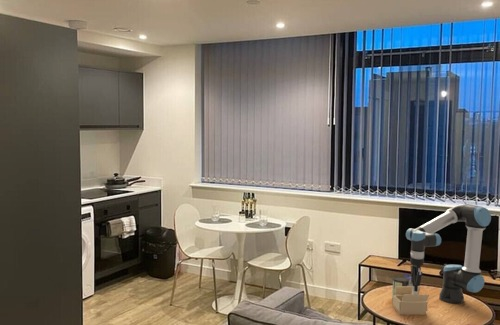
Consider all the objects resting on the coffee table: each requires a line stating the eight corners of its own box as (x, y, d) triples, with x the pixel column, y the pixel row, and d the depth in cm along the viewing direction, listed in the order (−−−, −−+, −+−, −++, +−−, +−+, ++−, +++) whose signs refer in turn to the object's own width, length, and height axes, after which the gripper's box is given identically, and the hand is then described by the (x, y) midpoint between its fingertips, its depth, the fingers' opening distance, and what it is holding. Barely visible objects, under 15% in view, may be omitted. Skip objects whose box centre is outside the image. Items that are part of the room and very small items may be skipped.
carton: (419, 307, 313) (420, 295, 313) (427, 315, 301) (427, 302, 301) (392, 307, 313) (393, 295, 312) (399, 314, 301) (399, 301, 300)
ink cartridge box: (411, 294, 338) (412, 273, 337) (414, 297, 333) (415, 275, 332) (397, 294, 338) (398, 273, 337) (400, 297, 332) (401, 275, 331)
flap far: (418, 294, 312) (418, 294, 313) (420, 286, 310) (420, 286, 310) (394, 294, 312) (394, 293, 312) (396, 286, 309) (396, 286, 310)
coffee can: (407, 297, 331) (408, 277, 330) (409, 303, 321) (410, 281, 320) (391, 296, 333) (392, 275, 332) (392, 301, 323) (393, 280, 322)
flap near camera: (428, 294, 297) (429, 295, 297) (426, 300, 301) (426, 301, 300) (403, 294, 296) (403, 294, 296) (401, 300, 300) (401, 301, 300)
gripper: (407, 254, 302) (404, 292, 305) (414, 260, 290) (412, 299, 292) (419, 254, 303) (416, 292, 305) (427, 260, 290) (425, 300, 292)
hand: (414, 295), depth 298 cm, fingers closed
